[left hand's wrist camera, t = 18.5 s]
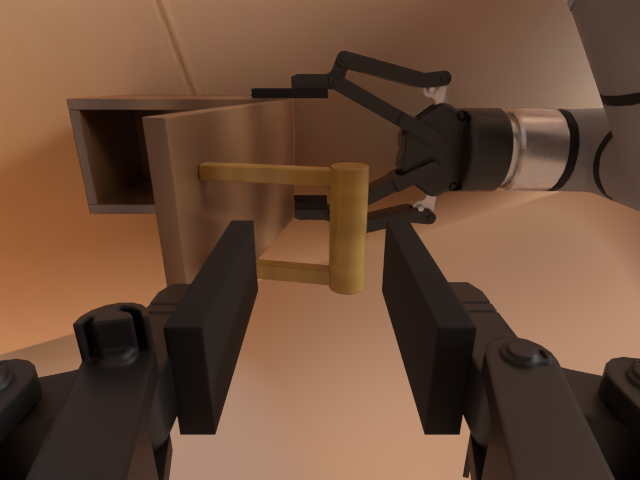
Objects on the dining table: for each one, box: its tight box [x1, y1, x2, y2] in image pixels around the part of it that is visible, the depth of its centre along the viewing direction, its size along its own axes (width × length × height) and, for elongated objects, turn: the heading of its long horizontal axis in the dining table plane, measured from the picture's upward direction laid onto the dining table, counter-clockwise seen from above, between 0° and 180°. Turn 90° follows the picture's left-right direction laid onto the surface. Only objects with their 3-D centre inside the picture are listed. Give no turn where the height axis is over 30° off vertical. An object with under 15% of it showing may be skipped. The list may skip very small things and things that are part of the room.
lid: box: [142, 100, 369, 294], centre depth 24 cm, size 18×9×8 cm
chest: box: [67, 95, 295, 214], centre depth 39 cm, size 17×9×11 cm, turn 90°
